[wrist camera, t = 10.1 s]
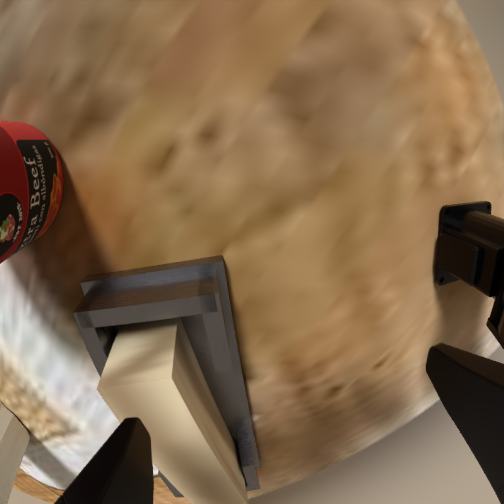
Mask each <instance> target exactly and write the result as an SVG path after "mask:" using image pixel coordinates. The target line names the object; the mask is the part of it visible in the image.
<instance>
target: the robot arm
mask: <svg viewBox="0 0 504 504" xmlns="http://www.w3.org/2000/svg"><path fill="white" fill-rule="evenodd" d="M446 211H447V214H446ZM457 280H461V281H463V282H465V283H466V284H468V285H470V286H473V287H474V288H476V289H477V290H479V291H481V292H482V293H484V294H485V295H487V296H489V297H492V298H494V299H495V301H494V304H493V308H492V311H491V314H490V317H489V318H488V321H487V324H486V325H487V327H488V328H489V330H490V331H491V332H492V334H493V335H494V336H495V338H496V339H497V341H498V342H499V343H500V345H501V346H502V348H503V349H504V219H502V218H499V217H496V216H493V215H491V203H490V202H487V201H481V202H471V203H462V204H453V205H445V206H443V207H442V209H441V212H440V231H439V244H438V255H437V265H436V274H435V283H437V284H438V285H444V284H447V283H450V282H453V281H457ZM426 372H427V374H428V376H429V378H430V380H431V382H432V384H433V386H434V388H435V390H436V392H437V394H438V396H439V398H440V400H441V401H442V403H443V405H444V407H445V409H446V410H447V412H448V414H449V415H450V417H451V418H452V420H453V421H454V423H455V425H456V426H457V428H458V429H459V431H460V433H461V434H462V436H463V437H464V439H465V441H466V442H467V444H468V445H469V447H470V449H471V451H472V452H473V454H474V456H475V457H476V459H477V461H478V462H479V464H480V466H481V468H482V469H483V471H484V473H485V475H486V477H487V478H488V480H489V481H490V484H491V486H492V487H493V489H494V491H495V492H496V495H497V497H498V499H499V501H500V503H501V504H504V364H502V363H499V362H496V361H493V360H490V359H487V358H484V357H481V356H478V355H475V354H472V353H469V352H466V351H463V350H460V349H458V348H455V347H452V346H449V345H446V344H443V343H439V344H437V345H434V346H432V347H431V348H430V349H429V353H428V357H427V362H426ZM153 490H154V479H153V465H152V449H151V437H150V434H149V432H148V431H147V429H146V427H145V426H144V424H143V422H142V421H141V419H140V418H138V417H127V418H125V419H124V420H123V421H122V422H121V424H120V425H119V426H118V427H117V428H116V430H115V431H114V432H113V433H112V435H111V436H110V437H109V438H108V439H107V441H106V442H105V443H104V444H103V445H102V447H101V448H100V449H99V450H98V451H97V453H96V454H95V455H94V456H93V458H92V459H91V460H90V461H89V462H88V464H87V465H86V466H85V467H84V468H83V470H82V471H81V472H80V473H79V474H78V476H77V477H76V478H75V479H74V480H73V482H72V483H71V484H70V485H69V486H68V488H67V489H66V490H65V491H64V492H63V495H61V496H60V497H59V498H58V499H57V501H56V502H55V503H54V504H153Z"/></svg>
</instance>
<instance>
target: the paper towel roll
mask: <svg viewBox="0 0 504 504" xmlns="http://www.w3.org/2000/svg"><path fill="white" fill-rule="evenodd" d="M29 440H30V436H29V434H28V432H27V430H26V429H25V428H24V426H23V425H22V424H21V423H20V422H19V420H18V419H17V418H16V417H15V416H14V415H13V414H12V413H11V412H10V411H9V410H8V409H7V408H5V407H4V406H3V405H2V404H1V403H0V504H7V503H8V500H9V496H10V493H11V490H12V487H13V484H14V481H15V478H16V475H17V473H18V470H19V467H20V464H21V462H22V459H23V456H24V454H25V451H26V449H27V446H28V444H29Z"/></svg>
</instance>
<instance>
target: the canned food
mask: <svg viewBox="0 0 504 504" xmlns="http://www.w3.org/2000/svg"><path fill="white" fill-rule="evenodd" d="M63 187H64V181H63V170H62V165H61V161H60V158H59V156H58V153H57V151H56V149H55V147H54V146H53V144H52V142H51V141H50V140H49V139H48V138H47V137H46V136H45V135H44V134H43V133H42V132H41V131H39V130H38V129H36V128H35V127H33V126H31V125H28V124H26V123H20V122H9V121H0V263H2V262H3V261H5V260H6V259H8V258H9V257H11V256H12V255H13V254H15V253H16V252H18V251H19V250H21V249H22V248H24V247H25V246H27V245H28V244H30V243H32V242H33V241H35V240H36V239H38V238H39V237H41V236H42V235H43V234H44V233H45V232H46V231H47V229H48V228H49V227H50V225H51V224H52V222H53V220H54V219H55V217H56V214H57V212H58V210H59V208H60V204H61V200H62V197H63Z"/></svg>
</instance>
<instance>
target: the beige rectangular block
mask: <svg viewBox="0 0 504 504" xmlns="http://www.w3.org/2000/svg"><path fill="white" fill-rule="evenodd" d="M97 390H98V392H99V393H100V395H101V396H102V398H103V399H104V401H105V402H106V404H107V405H108V406H109V408H110V409H111V411H112V412H113V413H114V415H115V416H116V418H117V419H118V420H119V422H120V423H121V422H122V421H123V420H124V419H125V418H127V417H138V418H140V419H141V421H142V422H143V424H144V426H145V427H146V429H147V431H148V432H149V434H150V437H151V449H152V463H153V464H154V465H155V466H156V467H157V468H158V470H159V471H160V472H161V473H162V474H163V475H164V476H165V477H166V478H167V479H168V480H169V482H170V483H171V484H172V485H173V486H174V487H175V488H176V489H177V490H178V491H179V492H180V493H181V494H182V495H183V496H184V497H185V498H186V499H187V500H188V501H189V502H190V503H191V504H249V502H248V497H247V492H246V486H245V481H244V475H243V469H242V465H241V459H240V453H239V451H238V449H237V447H236V445H235V443H234V441H233V439H232V437H231V435H230V433H229V431H228V429H227V427H226V424H225V422H224V420H223V418H222V416H221V414H220V412H219V409H218V407H217V405H216V403H215V401H214V398H213V396H212V394H211V392H210V389H209V387H208V385H207V383H206V380H205V378H204V376H203V373H202V371H201V369H200V366H199V364H198V361H197V359H196V356H195V354H194V352H193V349H192V347H191V344H190V342H189V339H188V336H187V334H186V331H185V329H184V326H183V324H182V321H181V318H180V317H176V318H169V319H162V320H154V321H146V322H138V323H131V324H127V325H122V326H120V328H119V331H118V333H117V336H116V338H115V341H114V344H113V346H112V349H111V351H110V354H109V356H108V359H107V362H106V364H105V367H104V370H103V373H102V375H101V378H100V381H99V384H98V387H97Z"/></svg>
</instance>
